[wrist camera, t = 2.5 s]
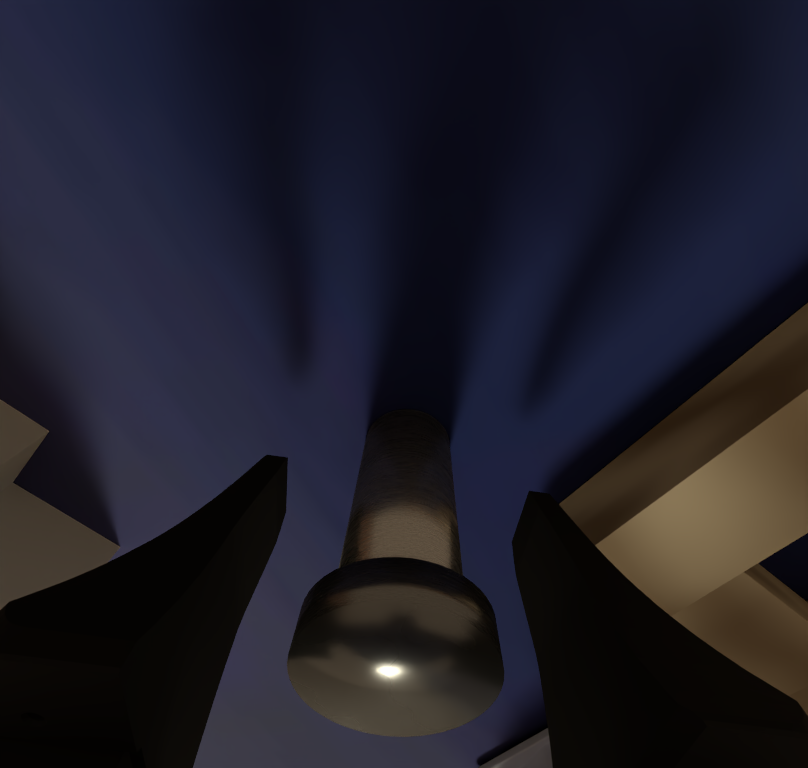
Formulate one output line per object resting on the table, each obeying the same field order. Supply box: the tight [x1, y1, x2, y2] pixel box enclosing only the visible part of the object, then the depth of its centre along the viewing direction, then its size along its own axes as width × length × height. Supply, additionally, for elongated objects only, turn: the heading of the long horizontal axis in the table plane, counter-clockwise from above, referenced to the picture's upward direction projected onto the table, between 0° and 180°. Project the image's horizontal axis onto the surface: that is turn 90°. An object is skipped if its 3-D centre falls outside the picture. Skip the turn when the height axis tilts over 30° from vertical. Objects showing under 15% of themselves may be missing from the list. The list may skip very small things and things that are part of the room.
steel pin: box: [287, 409, 504, 737], centre depth 12 cm, size 4×4×8 cm
